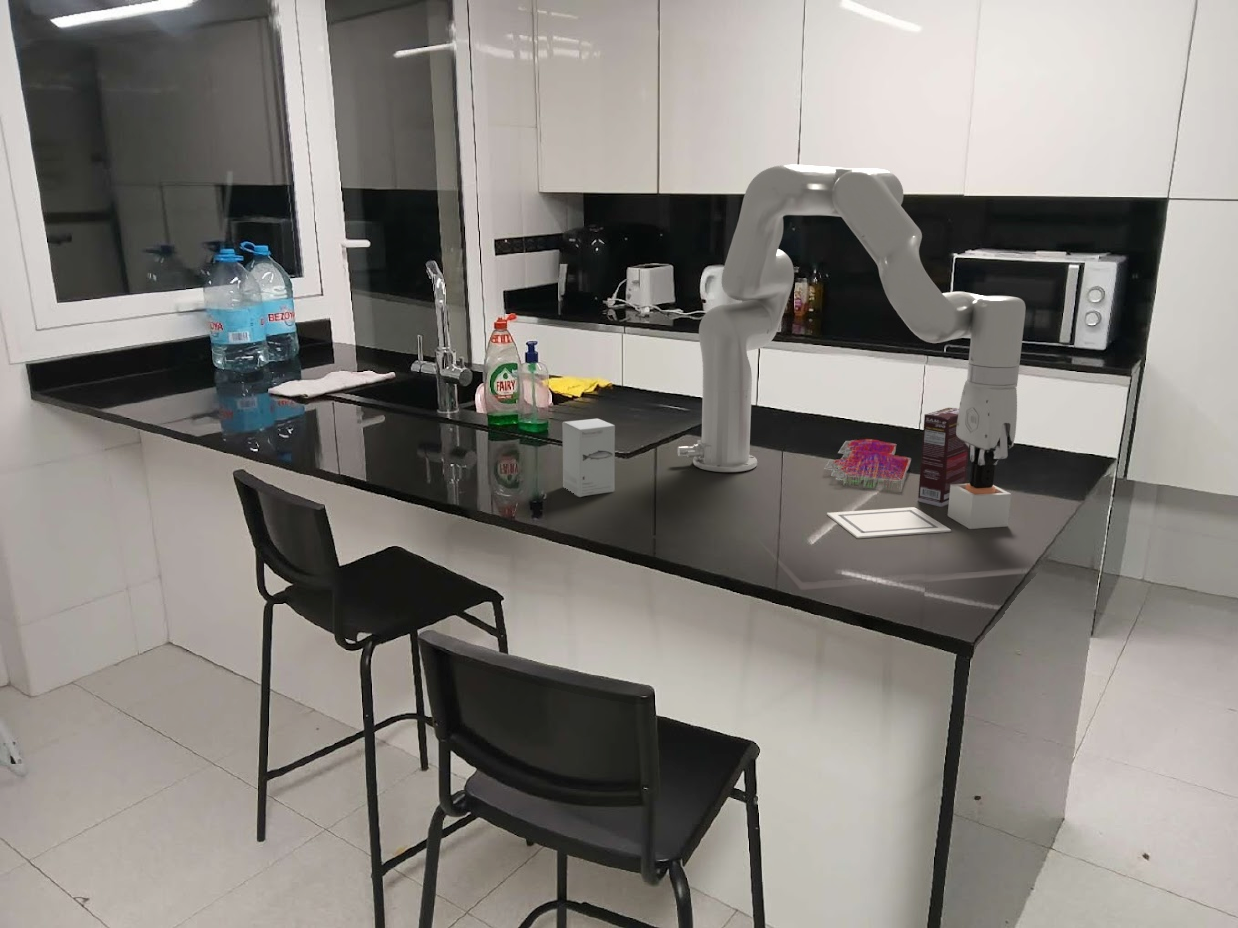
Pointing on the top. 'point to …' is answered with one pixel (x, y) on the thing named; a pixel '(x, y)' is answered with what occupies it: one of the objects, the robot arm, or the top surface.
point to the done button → (980, 490)
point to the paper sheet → (887, 522)
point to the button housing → (979, 507)
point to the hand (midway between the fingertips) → (981, 486)
